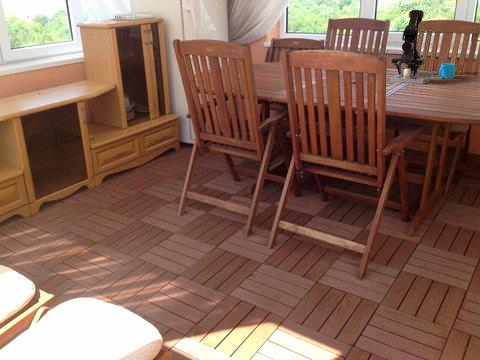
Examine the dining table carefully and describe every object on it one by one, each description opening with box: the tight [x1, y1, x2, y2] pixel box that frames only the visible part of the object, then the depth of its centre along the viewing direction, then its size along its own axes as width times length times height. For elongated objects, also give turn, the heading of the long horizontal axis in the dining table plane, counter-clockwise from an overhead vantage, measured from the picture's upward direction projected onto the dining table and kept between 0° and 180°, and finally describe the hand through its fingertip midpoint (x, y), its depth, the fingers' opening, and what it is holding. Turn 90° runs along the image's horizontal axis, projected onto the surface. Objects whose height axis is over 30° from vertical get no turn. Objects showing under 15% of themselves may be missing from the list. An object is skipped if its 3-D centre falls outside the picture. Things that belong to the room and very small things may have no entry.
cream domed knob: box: [403, 67, 411, 77], centre depth 308 cm, size 4×4×7 cm
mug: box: [438, 62, 456, 79], centre depth 309 cm, size 12×8×8 cm
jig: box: [390, 69, 434, 85], centre depth 306 cm, size 16×20×4 cm
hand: (406, 75), depth 308 cm, fingers open, 9 cm apart
